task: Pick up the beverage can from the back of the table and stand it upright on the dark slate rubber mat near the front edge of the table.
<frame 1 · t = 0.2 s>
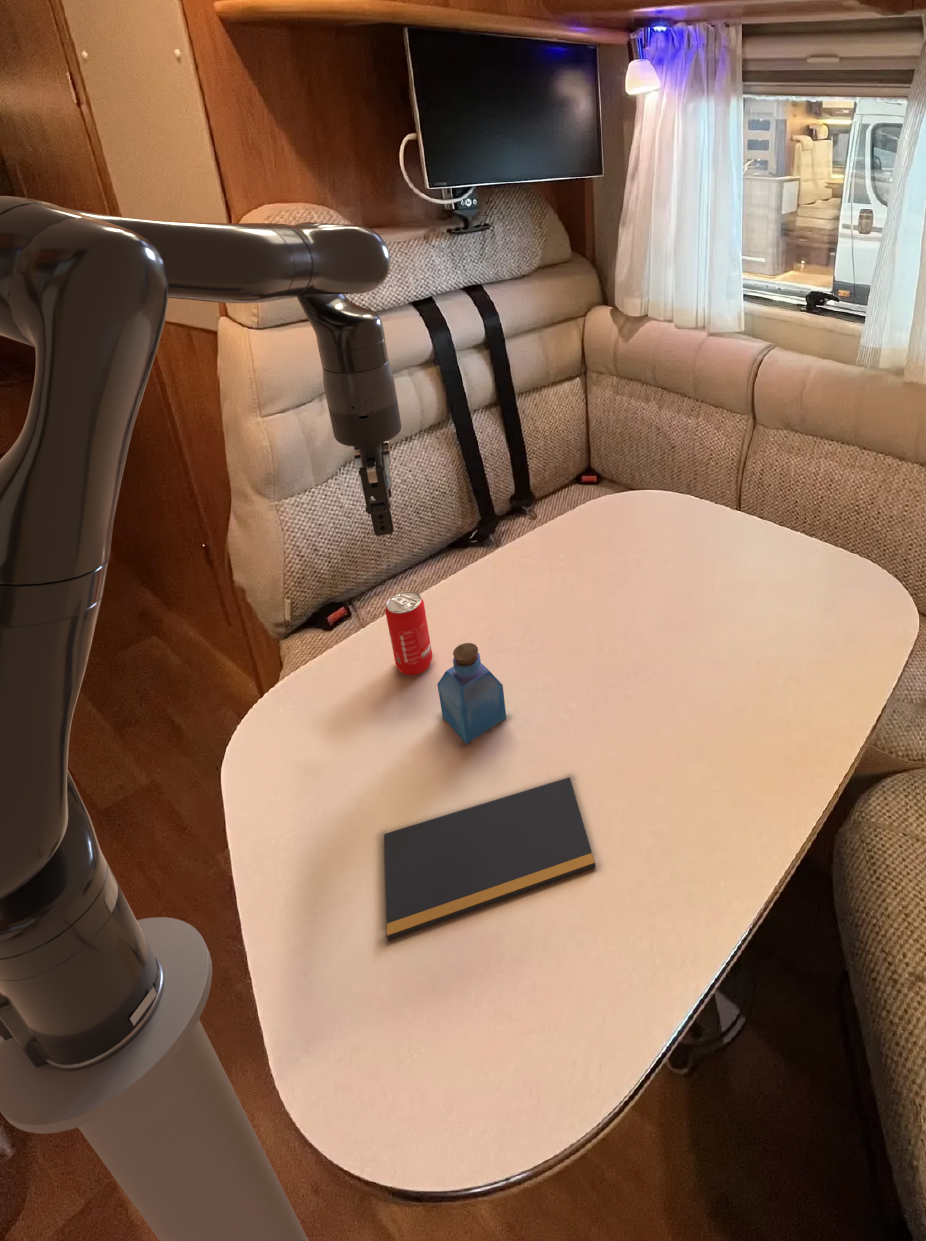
hand: (383, 515, 92), 29 cm above the table, tool pointing down, fingers open, 8 cm apart
front mat: (488, 851, 83), on the table
beverage can: (415, 665, 108), on the table
perfume bottle: (474, 718, 100), on the table
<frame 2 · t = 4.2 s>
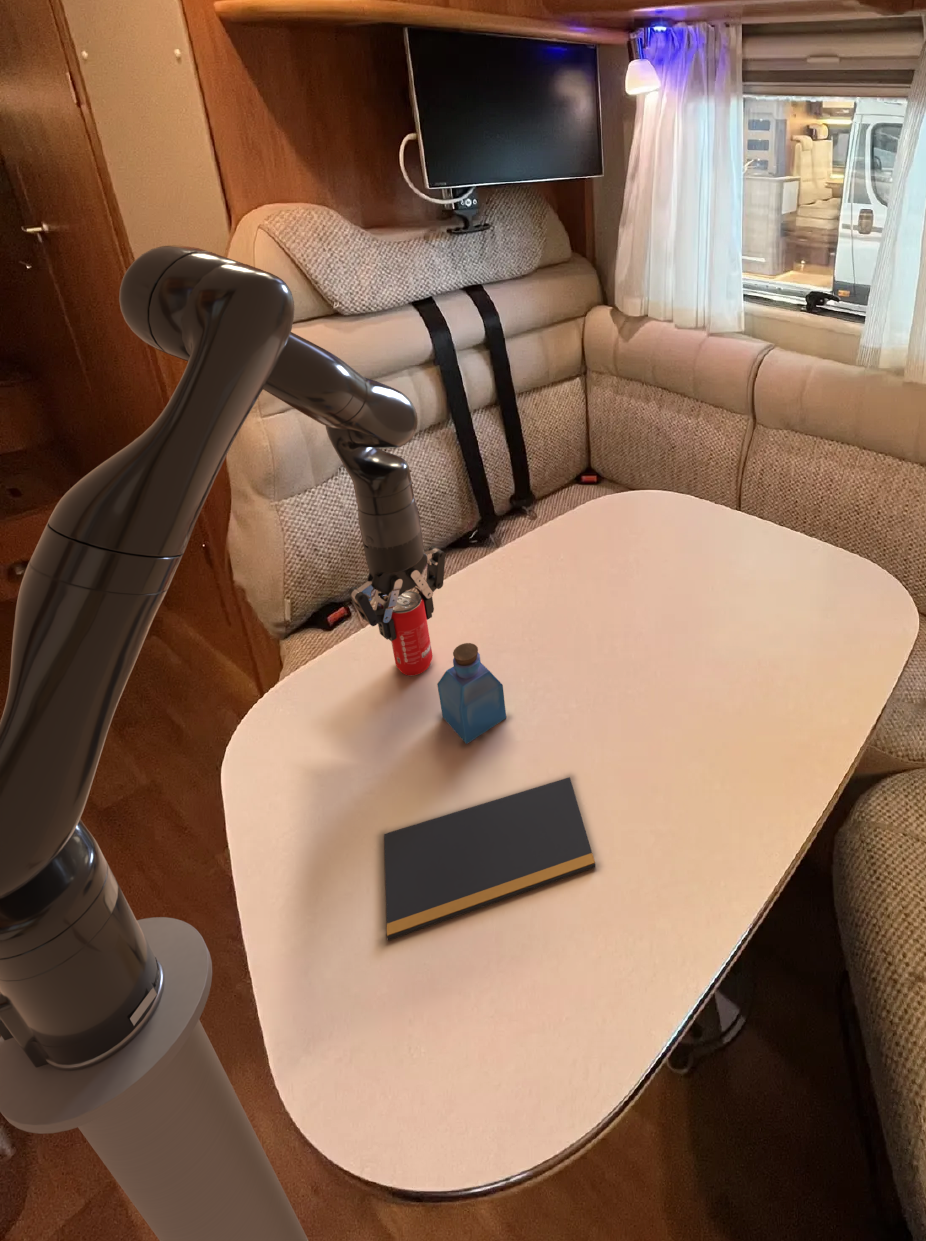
hand: (408, 626, 105), 7 cm above the table, tool pointing down, fingers closed on beverage can, 5 cm apart
beverage can: (415, 665, 108), on the table, touching gripper
everything else where it was.
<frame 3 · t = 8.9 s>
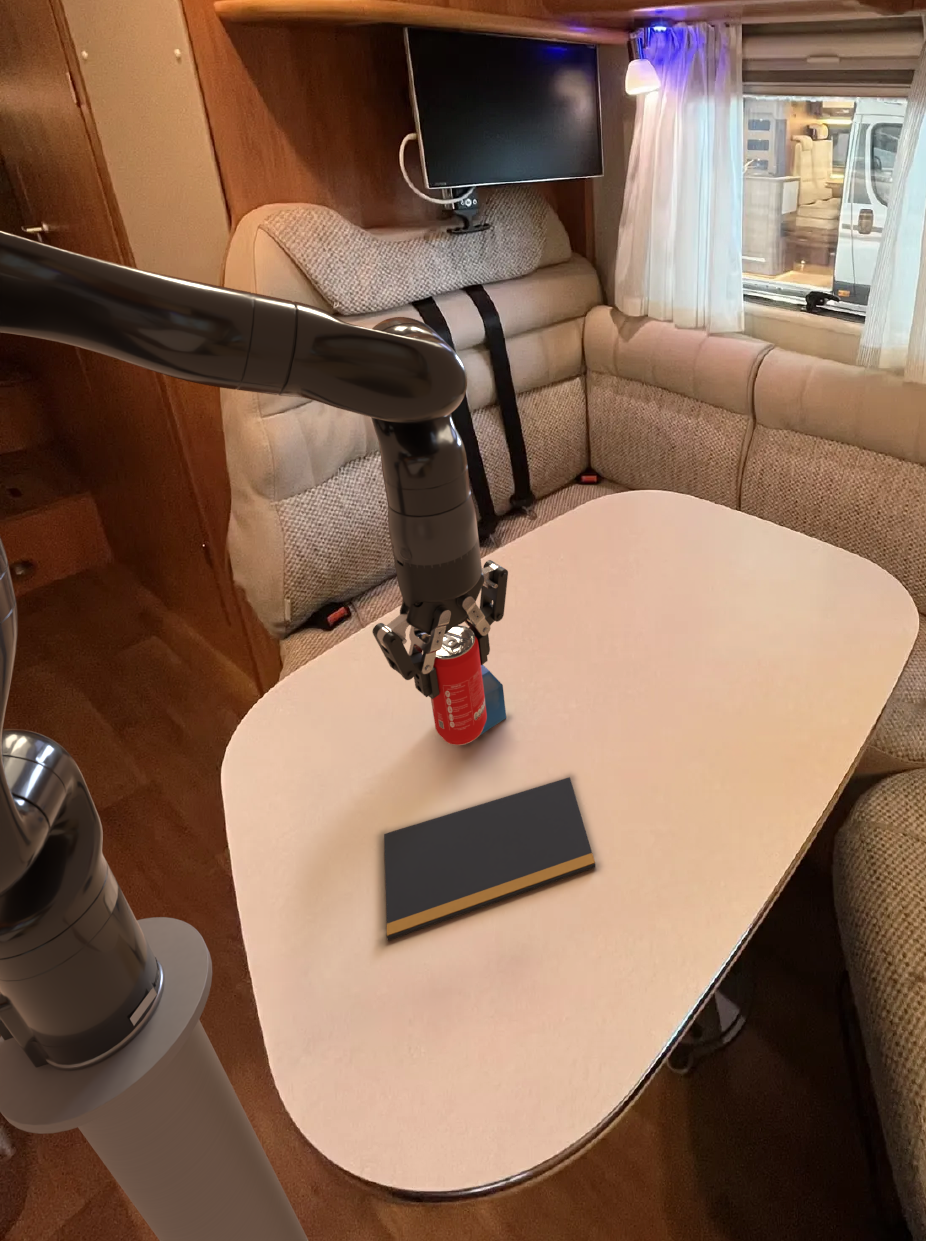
hand: (454, 675, 73), 25 cm above the table, tool pointing down, fingers closed on beverage can, 5 cm apart
beverage can: (462, 729, 77), point 18 cm above the table, touching gripper
everything else where it was.
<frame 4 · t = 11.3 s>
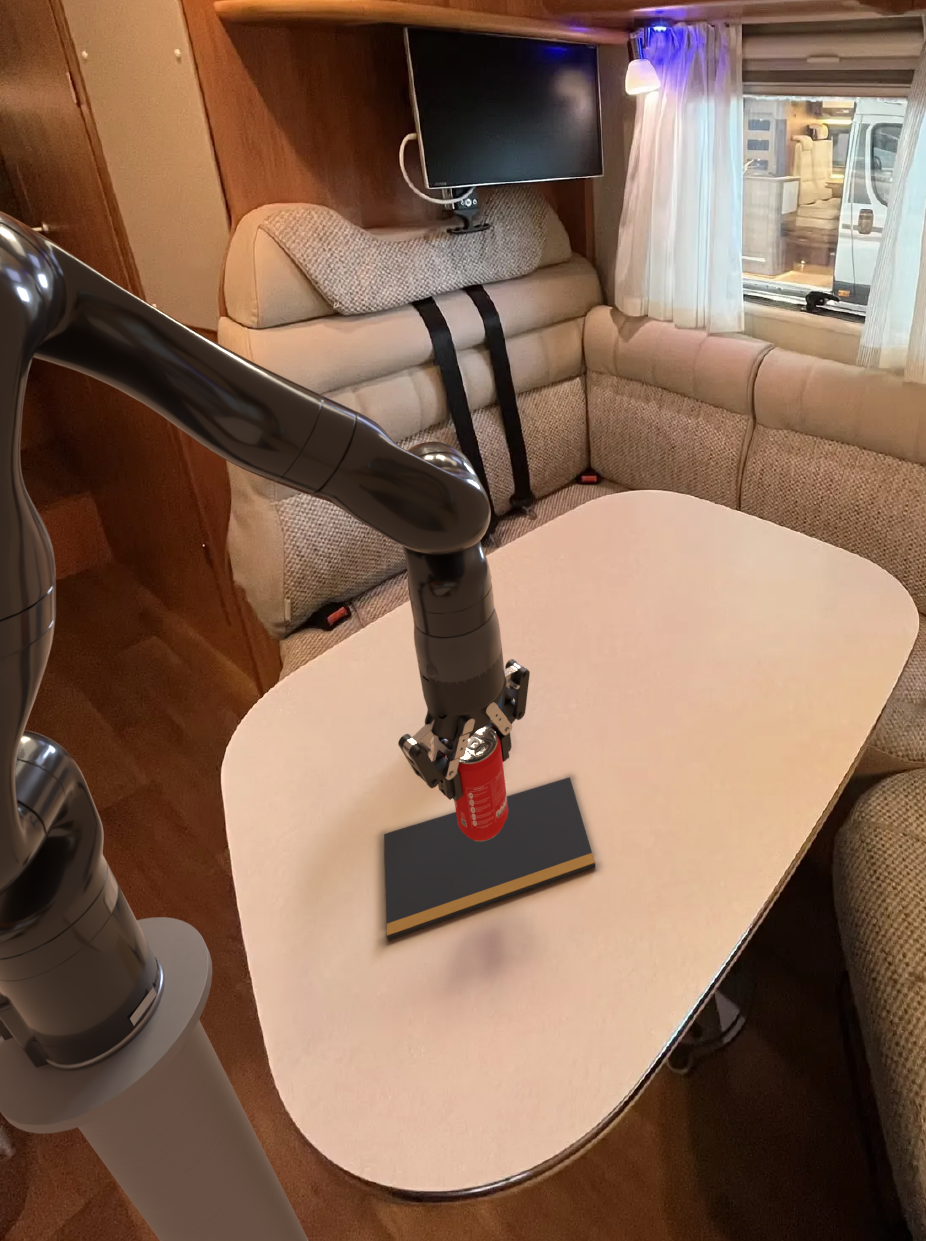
hand: (477, 774, 74), 15 cm above the table, tool pointing down, fingers closed on beverage can, 5 cm apart
beverage can: (484, 823, 78), point 8 cm above the table, touching gripper
everything else where it was.
when the fingers open (8 cm above the table, at t = 13.5 s): beverage can stays where it is, resting on front mat.
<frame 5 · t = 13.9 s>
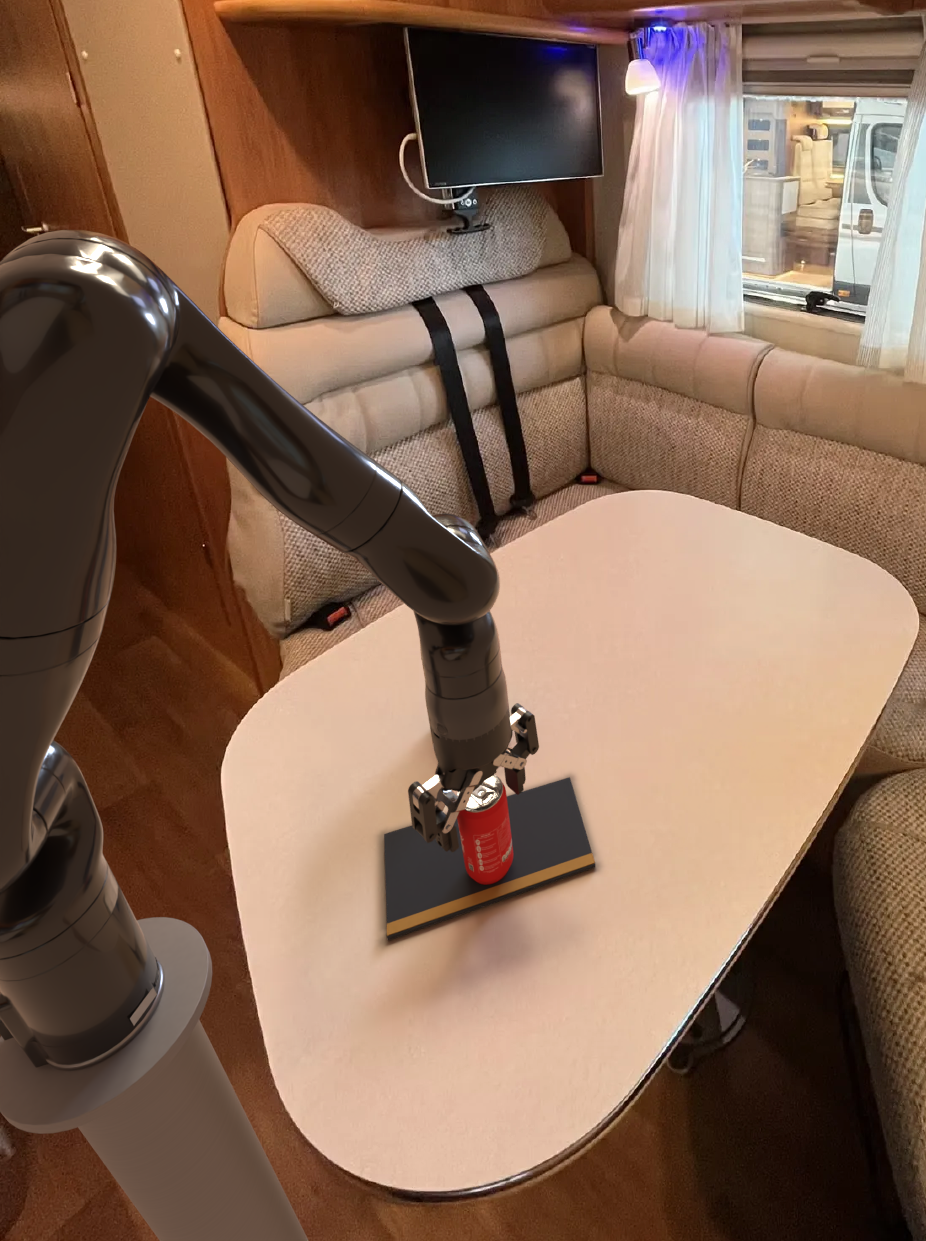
hand: (483, 815, 77), 9 cm above the table, tool pointing down, fingers open, 8 cm apart
beverage can: (490, 866, 81), resting on front mat
everything else where it was.
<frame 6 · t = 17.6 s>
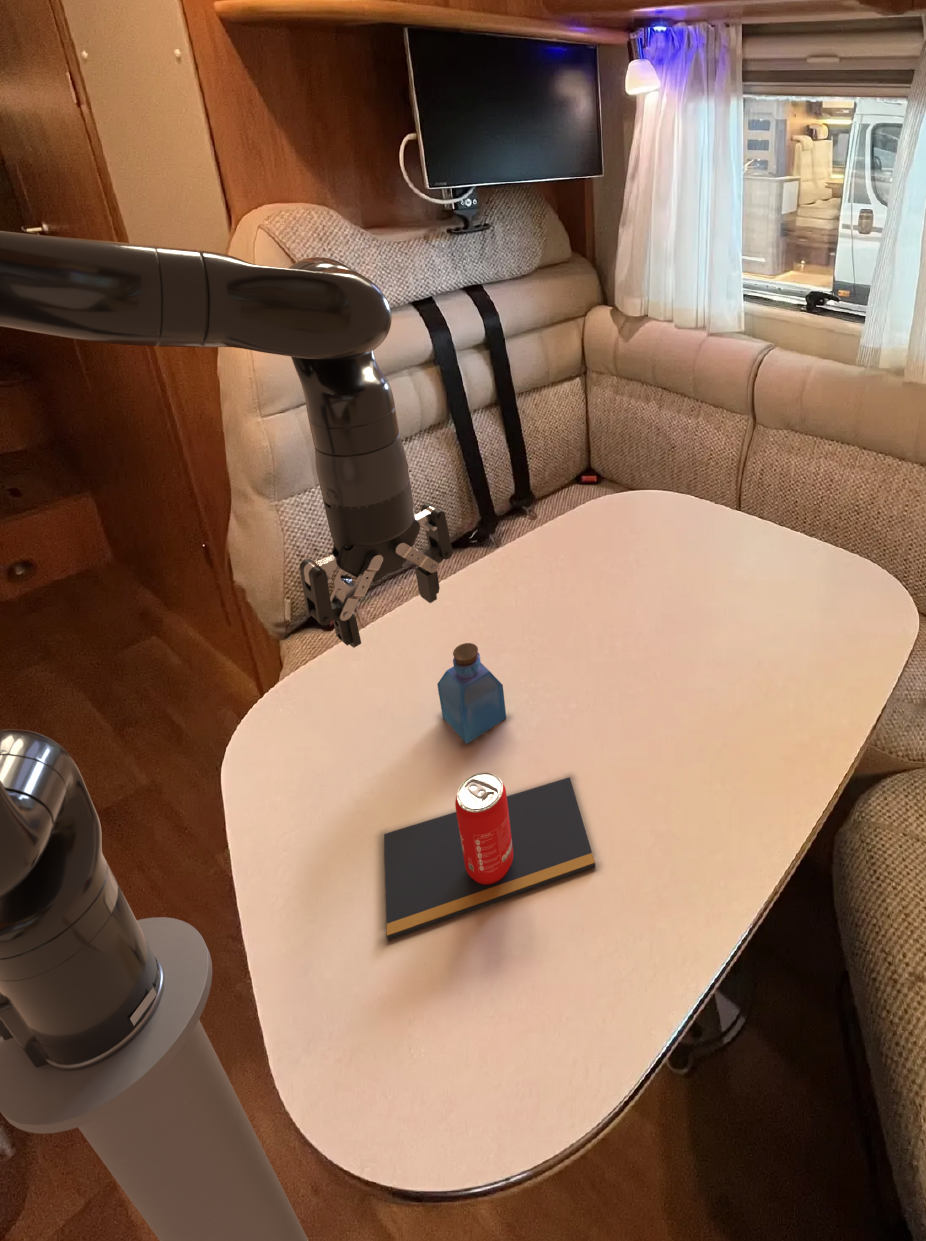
hand: (391, 619, 73), 30 cm above the table, tool pointing down, fingers open, 8 cm apart
nothing on the table moved.
at the end: beverage can inside the target area on the front mat (1.6 cm from its centre), point 0.4 cm above the front mat's base; beverage can tilted 1°; the gripper is holding nothing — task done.
